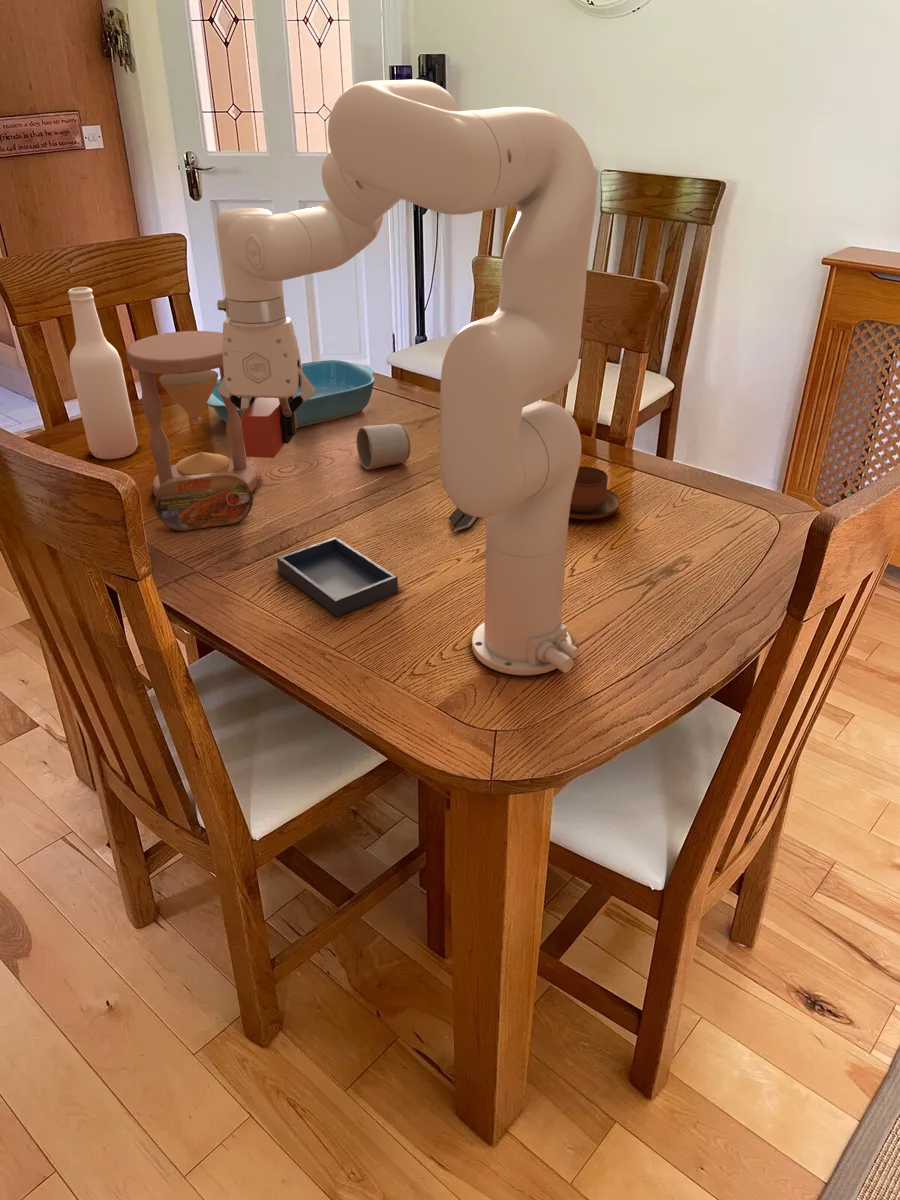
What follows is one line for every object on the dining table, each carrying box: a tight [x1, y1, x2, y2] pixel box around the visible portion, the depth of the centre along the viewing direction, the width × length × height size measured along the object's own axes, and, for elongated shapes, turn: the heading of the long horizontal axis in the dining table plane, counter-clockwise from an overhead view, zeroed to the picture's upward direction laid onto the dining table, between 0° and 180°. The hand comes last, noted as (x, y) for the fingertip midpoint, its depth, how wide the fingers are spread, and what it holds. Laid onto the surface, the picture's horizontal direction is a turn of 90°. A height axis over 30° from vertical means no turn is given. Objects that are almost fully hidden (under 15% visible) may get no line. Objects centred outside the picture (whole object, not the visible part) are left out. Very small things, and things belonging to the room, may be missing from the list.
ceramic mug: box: [355, 423, 411, 470], centre depth 162 cm, size 11×8×8 cm
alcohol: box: [67, 286, 139, 460], centre depth 162 cm, size 9×9×30 cm
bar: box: [241, 395, 298, 459], centre depth 126 cm, size 4×12×6 cm, turn 173°
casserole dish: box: [206, 359, 375, 429], centre depth 185 cm, size 37×22×7 cm, turn 123°
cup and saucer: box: [569, 466, 621, 521], centre depth 145 cm, size 12×12×6 cm
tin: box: [153, 471, 254, 532], centre depth 141 cm, size 15×3×8 cm, turn 105°
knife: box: [448, 506, 478, 533], centre depth 149 cm, size 25×6×1 cm, turn 154°
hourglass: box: [125, 330, 258, 497], centre depth 148 cm, size 18×18×25 cm
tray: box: [276, 536, 399, 617], centre depth 126 cm, size 16×10×2 cm, turn 39°
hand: (272, 438), depth 128 cm, fingers closed on bar, 4 cm apart
